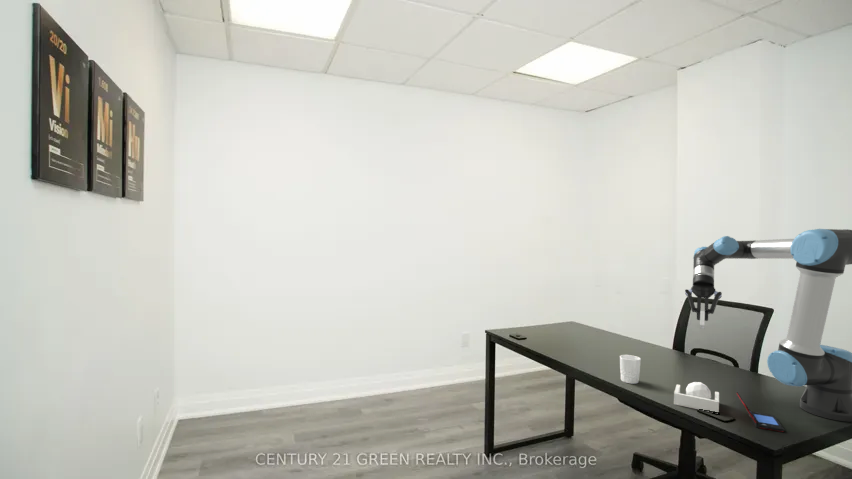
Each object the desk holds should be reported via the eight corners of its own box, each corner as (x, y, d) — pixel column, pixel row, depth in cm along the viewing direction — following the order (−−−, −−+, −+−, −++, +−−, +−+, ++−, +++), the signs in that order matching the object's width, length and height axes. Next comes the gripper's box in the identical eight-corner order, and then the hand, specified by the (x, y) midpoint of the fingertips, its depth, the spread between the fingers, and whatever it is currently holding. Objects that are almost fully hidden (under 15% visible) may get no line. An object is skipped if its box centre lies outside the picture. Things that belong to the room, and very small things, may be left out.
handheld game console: (785, 433, 131) (786, 410, 131) (743, 426, 136) (743, 403, 136) (774, 418, 142) (774, 396, 142) (735, 411, 147) (735, 390, 147)
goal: (676, 394, 162) (676, 384, 162) (718, 402, 154) (718, 392, 154) (673, 404, 152) (674, 393, 152) (718, 413, 145) (718, 402, 145)
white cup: (642, 385, 171) (643, 360, 171) (622, 383, 173) (622, 359, 173) (636, 378, 179) (637, 355, 179) (617, 377, 181) (617, 354, 180)
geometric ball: (703, 410, 154) (720, 396, 151) (692, 406, 150) (709, 392, 147) (688, 393, 160) (703, 379, 157) (676, 389, 156) (692, 375, 154)
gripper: (721, 285, 177) (722, 334, 164) (685, 283, 184) (683, 329, 171) (722, 274, 172) (722, 323, 159) (685, 272, 179) (682, 319, 166)
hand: (702, 326), depth 165 cm, fingers closed
